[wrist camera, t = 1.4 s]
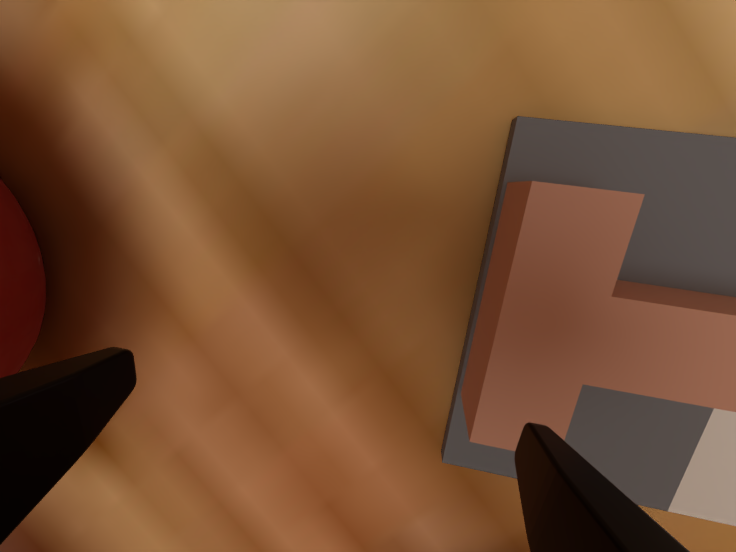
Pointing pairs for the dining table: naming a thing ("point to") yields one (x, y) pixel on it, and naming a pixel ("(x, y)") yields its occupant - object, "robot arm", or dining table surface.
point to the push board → (641, 265)
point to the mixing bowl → (18, 285)
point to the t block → (584, 319)
